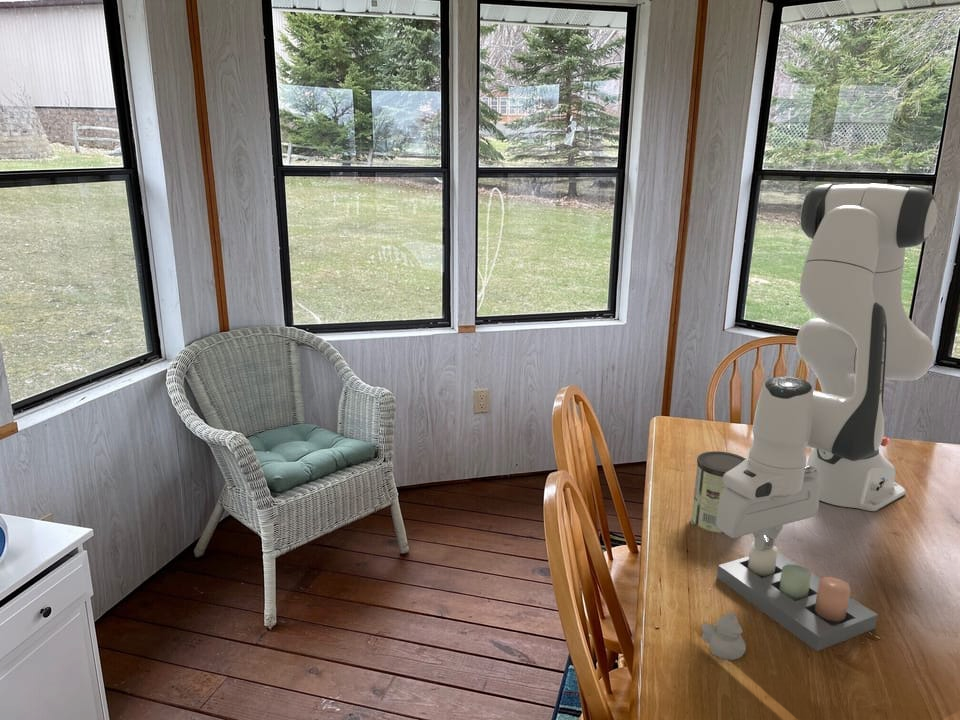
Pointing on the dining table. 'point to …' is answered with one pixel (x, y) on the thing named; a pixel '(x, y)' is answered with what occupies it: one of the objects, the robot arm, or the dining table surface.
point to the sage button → (795, 581)
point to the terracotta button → (832, 598)
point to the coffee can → (711, 487)
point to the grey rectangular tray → (795, 605)
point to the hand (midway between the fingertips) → (763, 547)
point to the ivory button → (762, 561)
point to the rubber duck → (725, 637)
